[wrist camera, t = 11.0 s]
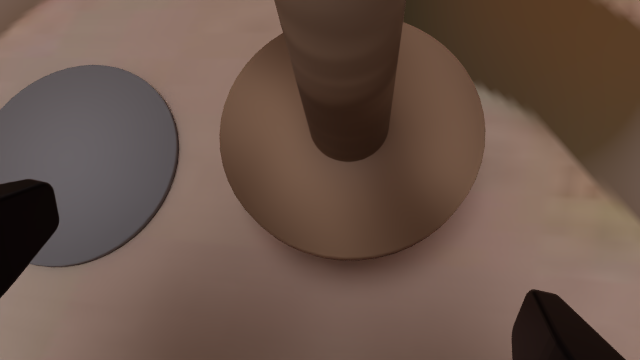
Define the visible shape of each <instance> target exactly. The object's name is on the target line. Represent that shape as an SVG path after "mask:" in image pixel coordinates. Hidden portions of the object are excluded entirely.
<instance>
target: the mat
mask: <svg viewBox="0 0 640 360" xmlns="http://www.w3.org/2000/svg"><path fill="white" fill-rule="evenodd" d="M178 151H179V147H178V134H177V129H176V124H175V122H174V119H173V116H172V113H171V112H170V110H169V108H168V106H167V104H166V103H165V101H164V100H163V99H162V98H161V96H160V95H159V94H158V93H157V91H156V90H155V89H153V88H152V87H151V86H150V85H149V84H148V83H147V82H146V81H144V80H143V79H141V78H140V77H138V76H136V75H134V74H132V73H130V72H128V71H125V70H122V69H119V68H115V67H110V66H102V65H86V66H77V67H72V68H67V69H64V70H61V71H57V72H54V73H52V74H50V75H47V76H45V77H43V78H41V79H39V80H37V81H35V82H34V83H32V84H30V85H29V86H27V87H26V88H24V89H23V90H21V91H20V92H19V93H18V94H17V95H15V96H14V97H13V98H12V99H11V100H10V101H9V102H8V103H7V104H6V105H5V106H4V107H3V108H2V109H1V110H0V184H3V183H8V182H14V181H19V180H24V179H34V180H39V181H43V182H47V183H49V184H50V185H51V186H52V187H53V189H54V193H55V198H56V203H57V208H58V213H59V225H58V228H57V230H56V231H55V233H54V234H53V235H52V236H51V238H50V239H49V240H48V241H47V242H46V244H45V245H44V246H43V247H42V249H41V250H40V251H39V252H38V254H37V255H36V256H35V257H34V258H33V260H32V261H31V262H30V264H34V265H40V266H48V267H66V266H72V265H79V264H83V263H86V262H89V261H93V260H96V259H98V258H100V257H103V256H105V255H107V254H109V253H111V252H113V251H114V250H116V249H118V248H119V247H121V246H123V245H124V244H125V243H127V242H128V241H129V240H131V239H132V238H133V237H134V236H136V235H137V234H138V233H139V232H140V231H141V230H142V229H143V228H144V227H145V226H146V225H147V224H148V222H149V221H150V220H151V219H152V218H153V216H154V215H155V214H156V212H157V211H158V209H159V208H160V206H161V205H162V203H163V202H164V200H165V198H166V196H167V194H168V192H169V190H170V187H171V184H172V182H173V179H174V176H175V172H176V167H177V163H178Z"/></svg>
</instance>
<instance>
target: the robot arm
mask: <svg viewBox="0 0 640 360" xmlns="http://www.w3.org/2000/svg"><path fill="white" fill-rule="evenodd" d="M58 225H59V213H58V208H57V203H56V198H55V193H54V189H53V187H52V186H51V185H50V184H49V183H47V182H43V181H39V180H34V179H24V180H19V181H14V182H8V183H3V184H0V298H1V297H2V296H3V295H4V293H5V292H6V291H7V290H8V289H9V288H10V287H11V285H12V284H13V283H14V282H15V281H16V279H17V278H18V277H19V276H20V275H21V273H22V272H23V271H24V270H25V268H26V267H27V266H28V265H29V263H30V262H31V261H32V260H33V258H34V257H35V256H36V255H37V254H38V252H39V251H40V250H41V249H42V247H43V246H44V245H45V244H46V242H47V241H48V240H49V239H50V238H51V236H52V235H53V234H54V233H55V231H56V230H57V228H58ZM512 359H513V360H625V359H624V358H623V357H622V356H621V355H620V354H619V353H618V352H617V351H616V350H615V349H614V348H613V347H612V346H611V345H610V344H609V343H608V342H606V341H605V340H604V339H603V338H602V337H601V336H600V335H599V334H598V333H597V332H596V331H595V330H594V329H593V328H592V327H591V326H590V325H589V324H588V323H587V322H585V321H584V320H583V319H582V318H581V317H580V316H579V315H578V314H577V313H576V312H575V311H574V310H573V309H572V308H571V307H570V306H569V305H568V304H567V303H566V302H564V301H563V300H562V299H561V298H560V297H559V296H558V295H556V294H553V293H549V292H544V291H539V290H535V289H533V290H530V291H529V292H528V293H527V294H526V296H525V299H524V301H523V304H522V306H521V308H520V311H519V313H518V316H517V318H516V321H515V323H514V326H513V330H512Z"/></svg>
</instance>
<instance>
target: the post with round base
mask: <svg viewBox="0 0 640 360" xmlns="http://www.w3.org/2000/svg"><path fill="white" fill-rule="evenodd" d="M274 1H275V4H276V8H277V12H278V16H279V19H280V23H281V27H282V30H283V33H282V34H281V35H279V36H278V37H276V38H275V39H273V40H272V41H270V42H269V43H268V44H266V45H265V46H264V47H263V48H262V49H261V50H259V51H258V52H257V53H256V54H255V55H254V56H253V57H252V59H251V60H250V61H249V62H248V63H247V64H246V65H245V67H244V68H243V70H242V71H241V72H240V74H239V75H238V77H237V78H236V80H235V82H234V84H233V86H232V88H231V89H230V92H229V94H228V97H227V100H226V102H225V105H224V109H223V113H222V118H221V125H220V152H221V157H222V163H223V167H224V170H225V173H226V176H227V179H228V182H229V184H230V186H231V188H232V190H233V192H234V194H235V195H236V197H237V198H238V200H239V201H240V203H241V204H242V206H243V207H244V208H245V210H246V211H247V212H248V213H249V214H250V215H251V216H252V217H253V218H254V219H255V220H256V221H257V222H258V223H259V224H260V225H261V226H262V227H263V228H264V229H265V230H266V231H268V232H269V233H270V234H271V235H273V236H274V237H275V238H277V239H279V240H280V241H282V242H284V243H285V244H287V245H289V246H291V247H293V248H295V249H298V250H300V251H302V252H305V253H308V254H311V255H315V256H318V257H322V258H328V259H336V260H365V259H373V258H379V257H383V256H387V255H390V254H394V253H397V252H399V251H402V250H404V249H406V248H409V247H411V246H413V245H415V244H416V243H418V242H420V241H422V240H423V239H425V238H427V237H428V236H429V235H431V234H432V233H433V232H434V231H436V230H437V229H438V228H440V227H441V226H442V225H443V224H444V223H445V222H446V221H447V220H448V219H449V218H450V217H451V216H452V215H453V213H454V212H455V211H456V210H457V208H458V207H459V206H460V204H461V203H462V201H463V200H464V199H465V197H466V196H467V195H468V193H469V191H470V189H471V187H472V185H473V183H474V181H475V180H476V177H477V174H478V171H479V168H480V166H481V163H482V157H483V152H484V147H485V122H484V113H483V109H482V105H481V101H480V98H479V95H478V93H477V90H476V88H475V85H474V83H473V81H472V80H471V78H470V76H469V75H468V73H467V71H466V70H465V68H464V67H463V66H462V64H461V63H460V62H459V61H458V59H457V58H456V57H455V56H454V55H453V54H452V53H451V52H450V51H449V50H448V49H447V48H446V47H445V46H443V45H442V44H441V43H440V42H438V41H437V40H436V39H434V38H433V37H432V36H430V35H428V34H426V33H425V32H423V31H421V30H420V29H418V28H416V27H413V26H411V25H409V24H406V23H404V22H403V18H404V11H405V4H406V0H274Z"/></svg>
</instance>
